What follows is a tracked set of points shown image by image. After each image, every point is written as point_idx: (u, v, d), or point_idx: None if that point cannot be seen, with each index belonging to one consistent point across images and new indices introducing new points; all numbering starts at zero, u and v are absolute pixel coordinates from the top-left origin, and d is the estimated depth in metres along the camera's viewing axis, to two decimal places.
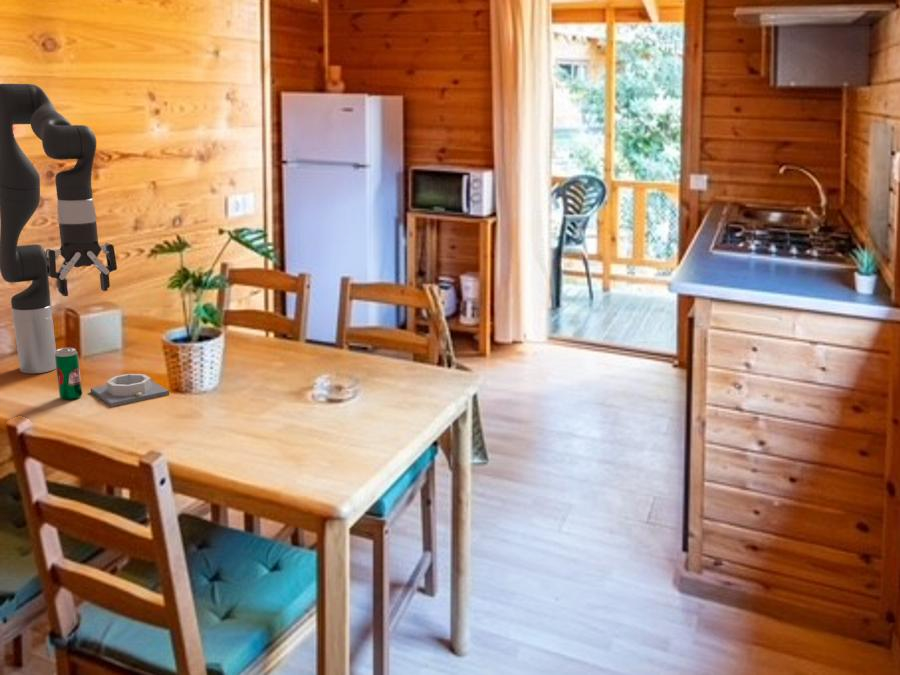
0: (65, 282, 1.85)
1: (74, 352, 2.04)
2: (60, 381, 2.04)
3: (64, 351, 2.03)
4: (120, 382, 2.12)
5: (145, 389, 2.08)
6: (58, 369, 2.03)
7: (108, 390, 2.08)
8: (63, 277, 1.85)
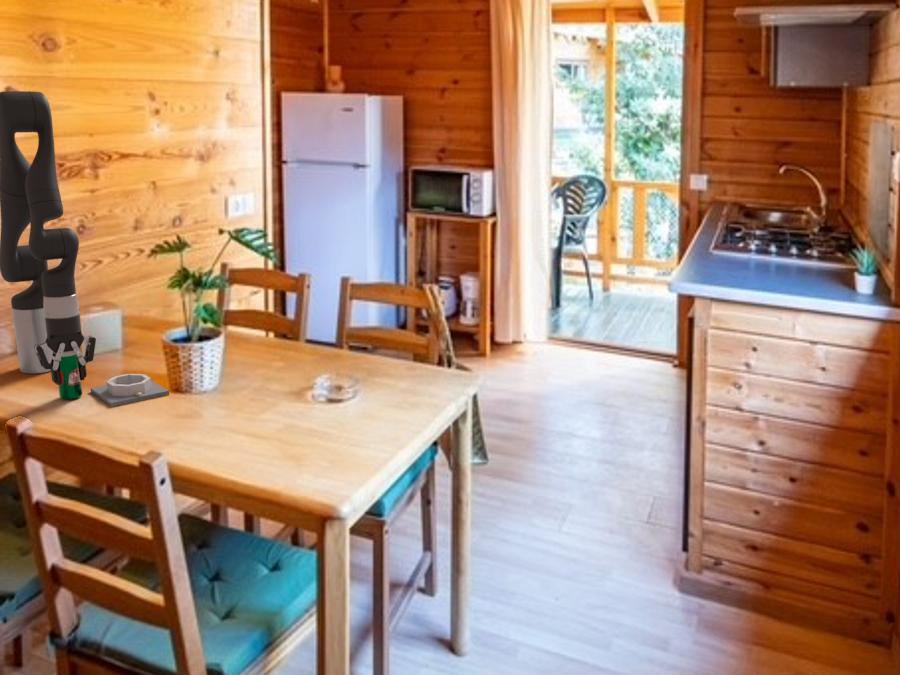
0: (58, 372, 2.03)
1: (74, 352, 2.04)
2: None
3: (64, 351, 2.03)
4: (120, 382, 2.12)
5: (145, 389, 2.08)
6: (58, 369, 2.03)
7: (108, 390, 2.08)
8: (56, 368, 2.02)
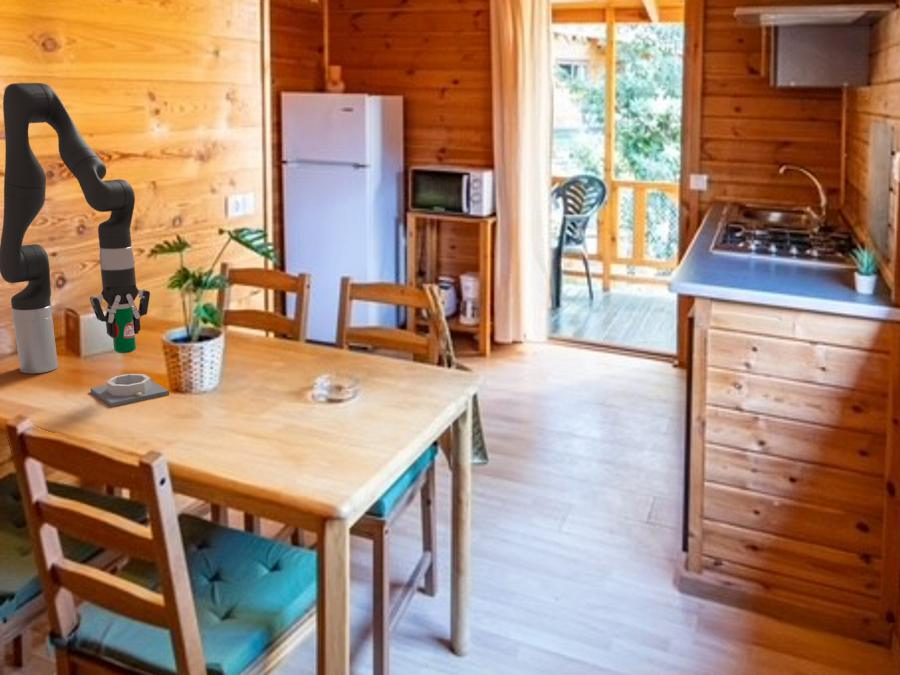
0: (113, 325, 2.03)
1: (129, 305, 2.04)
2: None
3: (119, 304, 2.03)
4: (120, 382, 2.12)
5: (145, 389, 2.08)
6: (113, 322, 2.03)
7: (108, 390, 2.08)
8: (111, 320, 2.03)
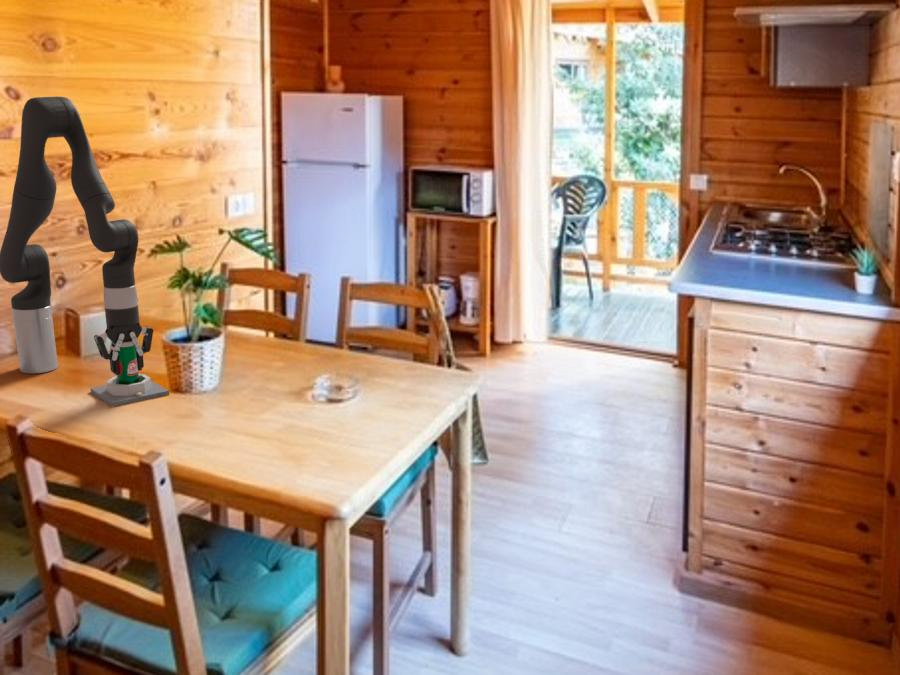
0: (117, 362, 2.06)
1: (133, 343, 2.07)
2: (119, 371, 2.06)
3: (123, 342, 2.05)
4: None
5: (145, 389, 2.08)
6: None
7: (108, 390, 2.08)
8: (115, 358, 2.05)
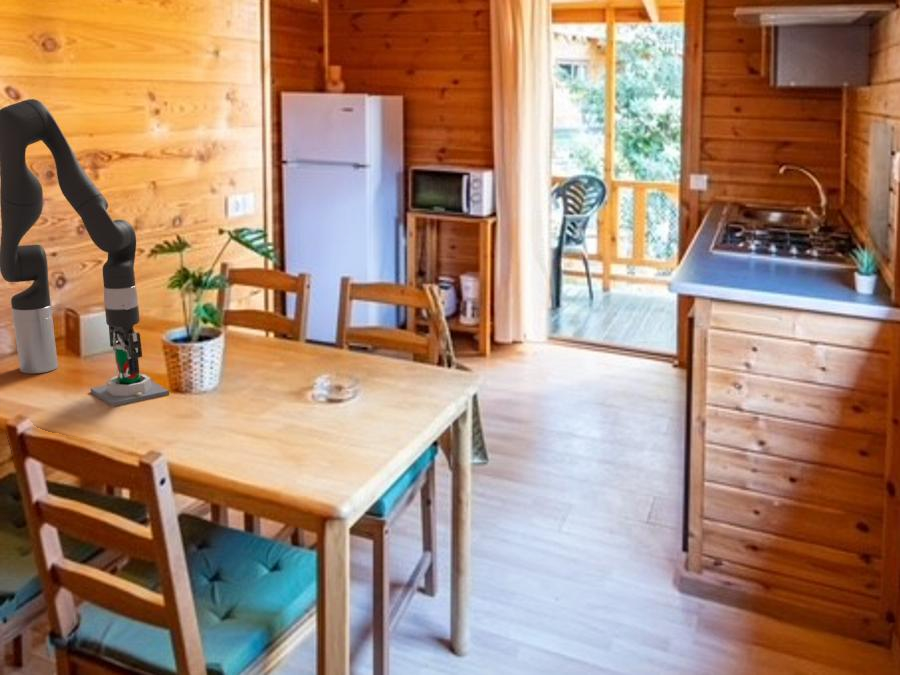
0: None
1: None
2: None
3: None
4: None
5: (145, 389, 2.08)
6: None
7: (108, 390, 2.08)
8: None
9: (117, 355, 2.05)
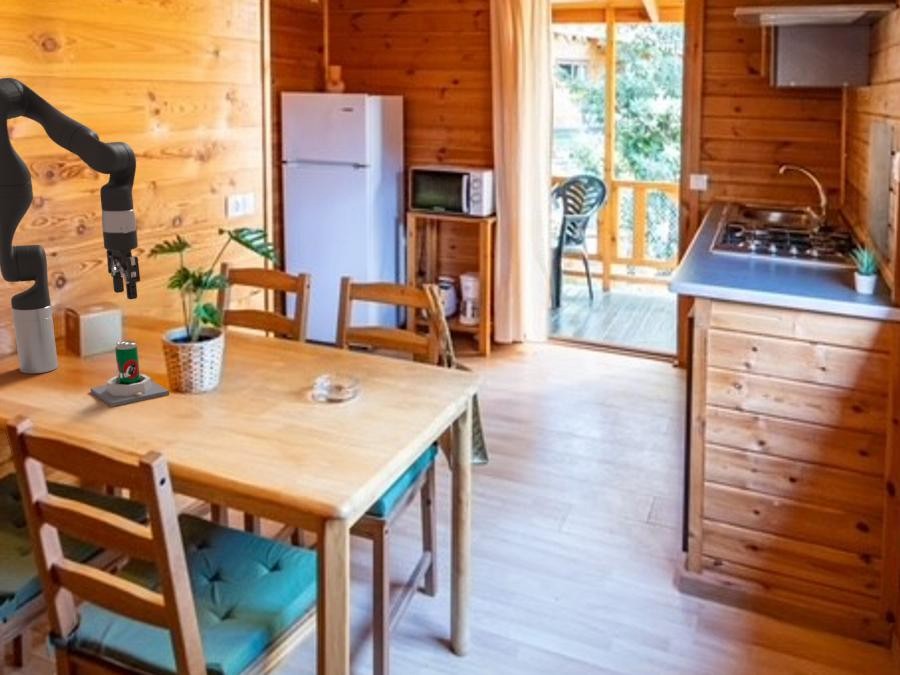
0: None
1: None
2: (135, 372, 2.07)
3: (131, 342, 2.07)
4: None
5: (145, 389, 2.08)
6: (133, 361, 2.06)
7: (108, 390, 2.08)
8: None
9: (117, 355, 2.05)
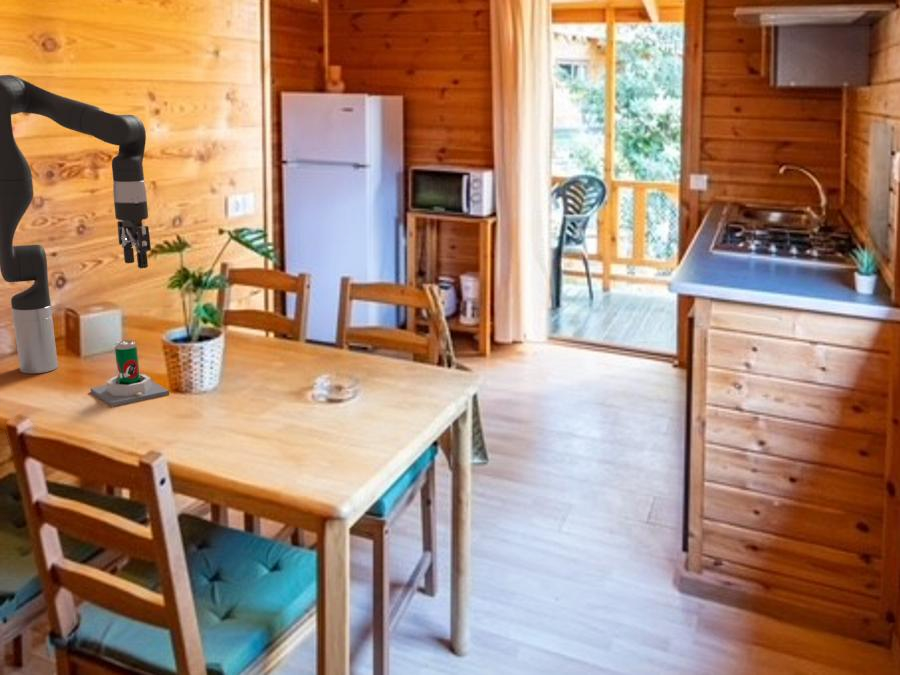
0: None
1: None
2: (135, 372, 2.07)
3: (131, 342, 2.07)
4: None
5: (145, 389, 2.08)
6: (133, 361, 2.06)
7: (108, 390, 2.08)
8: None
9: (117, 355, 2.05)
